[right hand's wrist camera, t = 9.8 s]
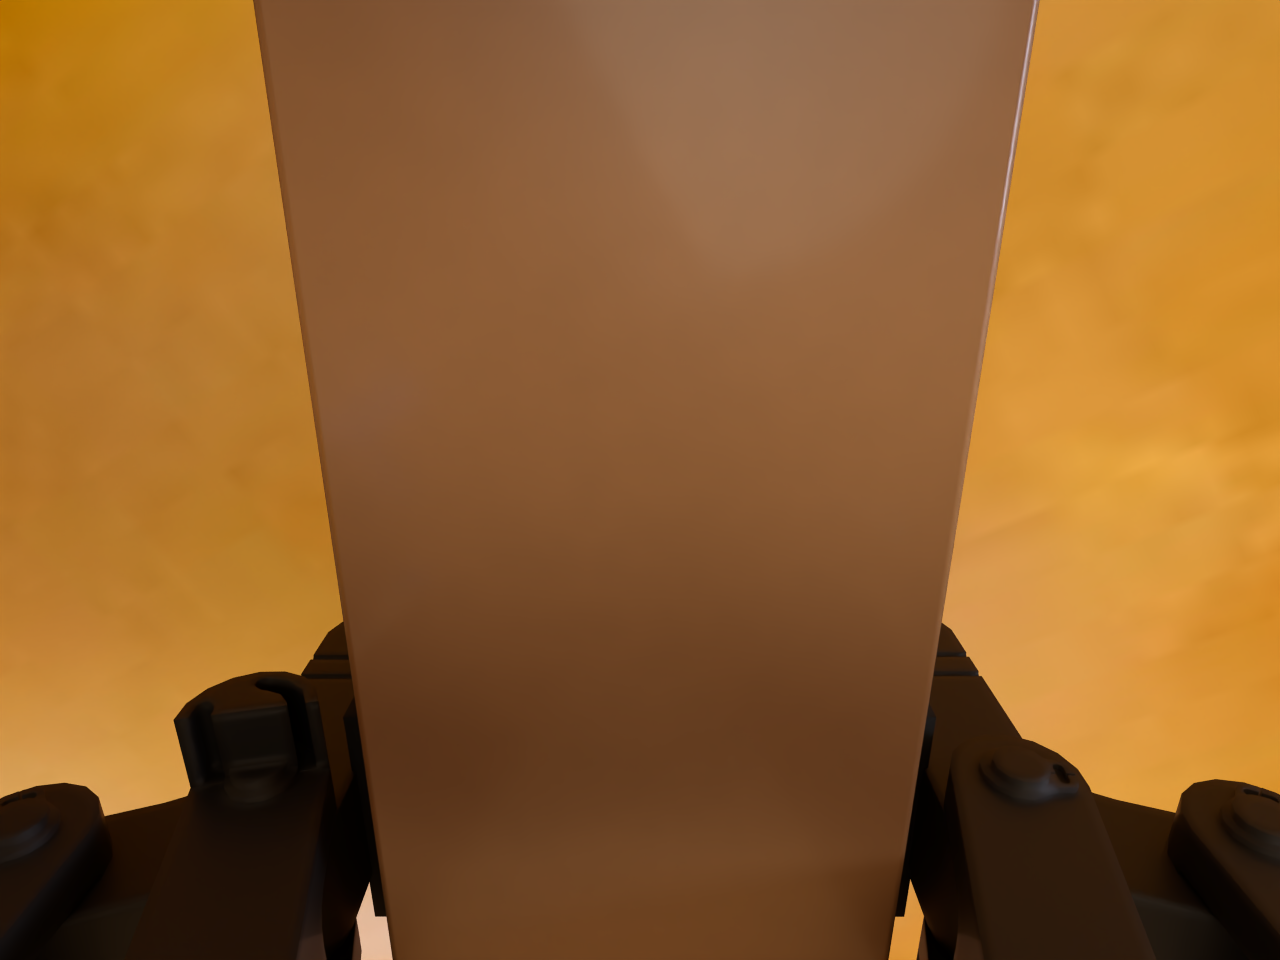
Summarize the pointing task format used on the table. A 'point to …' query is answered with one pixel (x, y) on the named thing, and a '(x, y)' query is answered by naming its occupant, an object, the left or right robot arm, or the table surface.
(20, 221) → the table surface
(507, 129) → the beam
